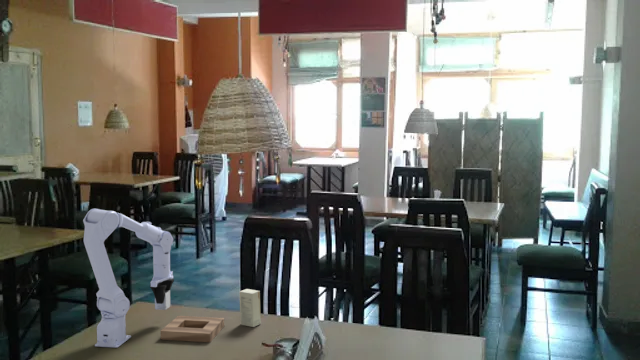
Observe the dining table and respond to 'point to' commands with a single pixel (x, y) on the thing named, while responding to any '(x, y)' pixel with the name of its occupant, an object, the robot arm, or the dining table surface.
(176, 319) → the well block
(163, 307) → the grey rectangular block
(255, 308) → the skincare box
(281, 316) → the dining table surface
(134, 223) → the robot arm
